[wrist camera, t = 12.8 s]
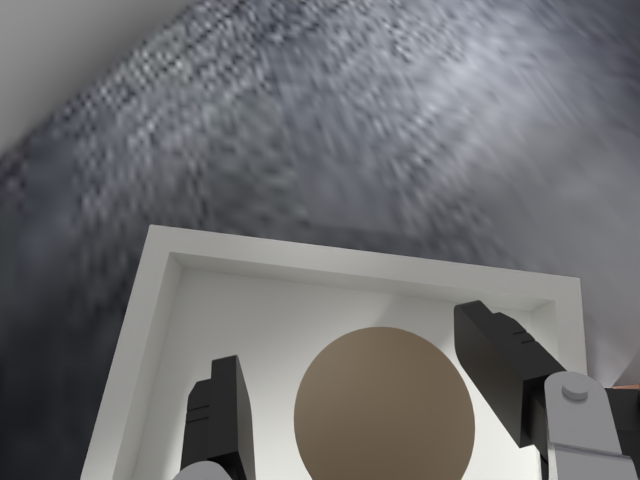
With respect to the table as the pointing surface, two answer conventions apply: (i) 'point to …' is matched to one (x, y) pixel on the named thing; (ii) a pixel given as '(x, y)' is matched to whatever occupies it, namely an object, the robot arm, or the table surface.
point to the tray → (297, 340)
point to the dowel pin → (383, 410)
